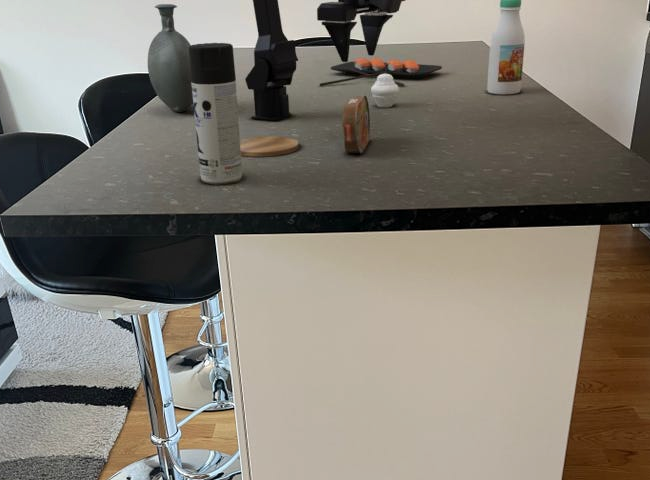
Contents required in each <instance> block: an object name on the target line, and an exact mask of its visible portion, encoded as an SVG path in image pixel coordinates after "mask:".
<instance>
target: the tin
mask: <svg viewBox="0 0 650 480" xmlns="http://www.w3.org/2000/svg"><path fill="white" fill-rule="evenodd" d="M341 117H342V118H341V124H342V128H343V130H342V131H343V137H344V138H343V139H344V140H343V141H344V142H343V146H344V150H345V152H346V153H347V154H360V155H361V154H363V152H364V150H365V149H366V147H367V145H368V144H369V142H370V137H371V136H370V135H371V122H370V121H371V120H370V119H371V118H370V117H371V115H370V106H369V101H368V97H367V95H365V94H364V95H360V96H352V97H350V99H349V100H348V101H347V102H346V103H345V105H344V106H343V109H342V115H341Z"/></svg>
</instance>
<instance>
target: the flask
mask: <svg viewBox="0 0 650 480" xmlns="http://www.w3.org/2000/svg"><path fill="white" fill-rule="evenodd" d="M154 8H155V9H157V10H158V13H159V16H160V20H161V21H160V22H161V30H160V31H159V32H158V33H157V34H156V35H155V36H154V37H153V39H152V40H151V41H150V44H149V48H148V53H147V72H148V77H149V81H150V84H151V86H152V88H153V91H154V92H155V94H156V95H157V97H158V98H159V99H160V101H161V102H162V103H163V104H164V105H165V106H166V107H168V108H169V109H170V110H173V111H175V112H177V113H178V112H179V113H181V112H186V111H188V110H189V109H190V108H191V107H192V106H193V105H194V104H193V94H192V83H191V72H190V59H189V46H191V45H192V44H191V43H190V42H189V40H188V39H187V38H186V37H185V36H184V35H183V34H181V33H180V32H178V30H176V29H175V20H174V10H175V8H178V6H177V5H176V4H171V3H162V4H161V3H159V4H156V5H154Z"/></svg>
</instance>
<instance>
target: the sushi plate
mask: <svg viewBox="0 0 650 480" xmlns="http://www.w3.org/2000/svg"><path fill="white" fill-rule="evenodd" d="M442 69H443V66H442V65H435V64H419V63H418V62H416V61H415V60H414V59H413V60H412V59H405V60H402V62H401V60H399V59H391V60H388V61H387V62H384V61H383V60H382V59H381V58H378V57H377V58H376V57H373V58H371V59H367V58H365V57H359V58H356V59H354V61H348V62H342V63H339V64H336V65H332V66H331V67H330V70H331V71H336V72H341V73H344V75H348V76H353V77H348V78H343V79H337V80H331V81H326V82H321V83H319V86H320V87H323V86H329V85H335V84H340V83H344V82H348V81H353V80H354V81H355V80H359V79H364V78H369V77H371V78H374V79H377V77H378V76H379V75H381V74H384V73H386V74H390V75H391V76H392V77H393V79H409V80H412V79H413V80H415V79H421V78H425V77H427V76H429V74H431V73H434V72H437V71H440V70H442ZM393 81H394V82H395V84H397V86H398V87H399V86H400V87H405V83H403V82H400V81H395V80H393Z"/></svg>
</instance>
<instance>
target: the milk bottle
mask: <svg viewBox="0 0 650 480" xmlns="http://www.w3.org/2000/svg"><path fill="white" fill-rule="evenodd" d="M521 6H522V0H500V1H499V10H500V13H499V18H498V20H497V23H496V24H495V27H494V28H493V31H492V34H491V38H490V45H489V56H488V57H489V58H488V68H487V69H488V70H487V83H486V84H487V85H486V91H487V92H488V93H489V94H493V95H514V94H519V93H520V92H521V89H522V80H523V79H522V78H523V69H524V68H523V67H524V55H525V44H526V43H525V41H526V40H525V39H526V37H525V31H524V27H523V25H522V21H521V16H520V11H521V8H522V7H521Z"/></svg>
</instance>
